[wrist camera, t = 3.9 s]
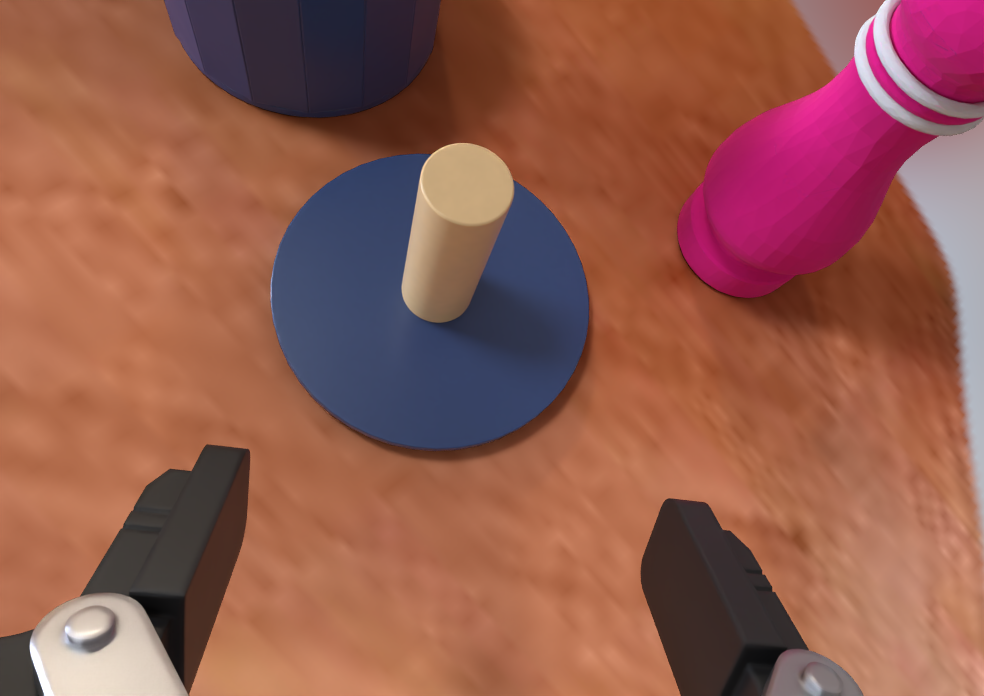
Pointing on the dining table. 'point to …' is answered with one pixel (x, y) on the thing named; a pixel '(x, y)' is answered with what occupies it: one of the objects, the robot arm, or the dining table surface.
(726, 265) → the pepper mill
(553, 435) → the dining table surface
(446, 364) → the lid
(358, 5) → the can
